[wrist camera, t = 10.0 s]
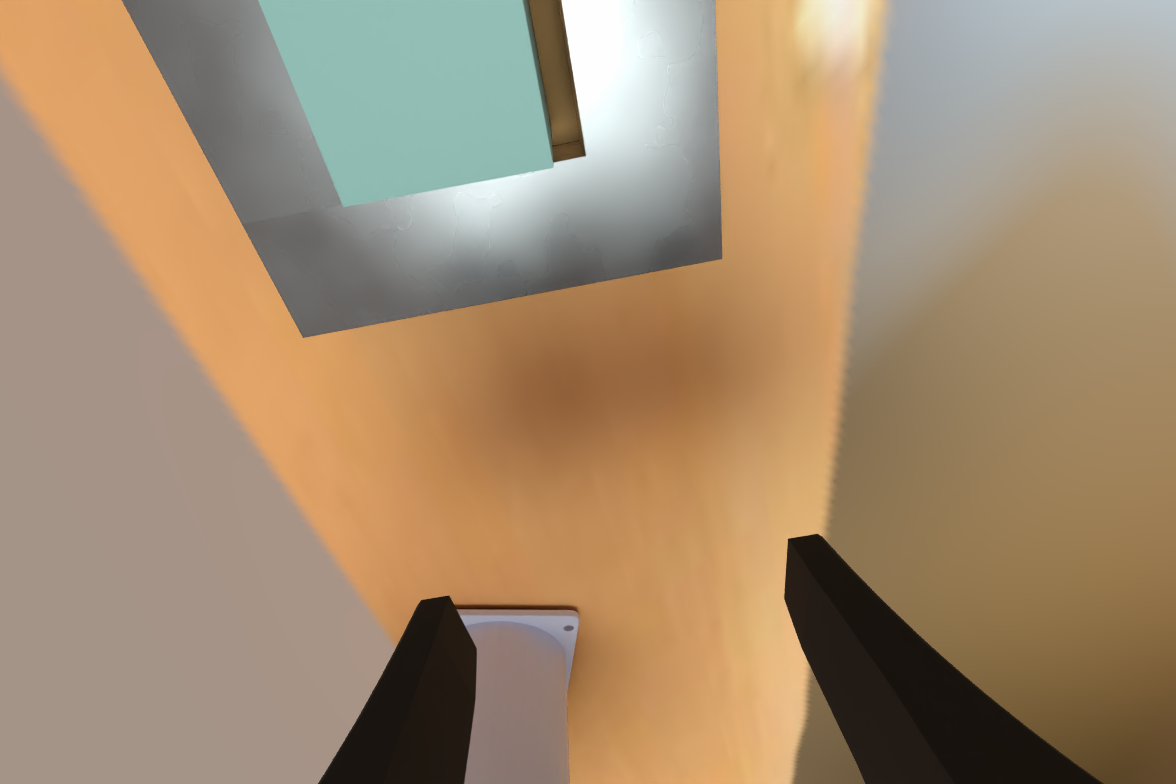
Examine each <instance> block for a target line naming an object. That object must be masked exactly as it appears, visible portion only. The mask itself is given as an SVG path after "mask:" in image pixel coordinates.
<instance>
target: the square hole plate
mask: <svg viewBox="0 0 1176 784" xmlns="http://www.w3.org/2000/svg"><path fill="white" fill-rule="evenodd" d="M122 1H123V3H124V5H125V7H126V9H127V11H128V13H129V14H130V16H131V18H132V20H133V22H134V24H135V26H136V28H137V29H138V31H139V33H140V35H141V37H142V39H143V41H144V42H145V44H146V46H147V48H148V50H149V52H150V54H151V55H152V57H153V59H154V61H155V63H156V65H157V67H158V68H159V70H160V72H161V74H162V76H163V78H164V80H165V82H166V83H167V85H168V87H169V89H170V91H171V93H172V95H173V96H174V98H175V100H176V102H177V104H178V106H179V108H180V109H181V111H182V113H183V115H184V117H185V119H186V121H187V122H188V124H189V126H190V128H191V130H192V132H193V134H194V135H195V137H196V139H197V141H198V143H199V145H200V147H201V149H202V150H203V152H204V154H205V156H206V158H207V160H208V162H209V163H210V165H211V167H212V169H213V171H214V173H215V175H216V176H217V178H218V180H219V182H220V184H221V186H222V188H223V189H224V191H225V193H226V195H227V197H228V199H229V201H230V203H231V204H232V206H233V208H234V210H235V212H236V214H237V216H238V217H239V219H240V221H241V223H242V225H243V227H244V229H245V230H246V232H247V234H248V236H249V238H250V240H251V242H252V243H253V245H254V247H255V249H256V251H257V253H258V255H259V257H260V258H261V260H262V262H263V264H264V266H265V268H266V270H267V271H268V273H269V275H270V277H271V279H272V281H273V283H274V284H275V286H276V288H277V290H278V292H279V294H280V296H281V297H282V299H283V301H284V303H285V305H286V307H287V309H288V311H289V312H290V314H291V316H292V318H293V320H294V322H295V324H296V325H297V327H298V329H299V331H300V333H301V335H302V337H303V338H304V337H310V336H315V335H320V334H326V333H331V332H336V331H342V330H347V329H352V328H357V327H363V326H368V325H373V324H379V323H384V322H389V321H395V320H400V319H405V318H411V317H416V316H421V315H426V314H432V313H437V312H442V311H448V310H453V309H458V308H464V307H469V306H474V305H480V304H485V303H490V302H496V301H501V300H506V299H511V298H517V297H522V296H527V295H533V294H538V293H543V292H549V291H554V290H559V289H565V288H570V287H575V286H581V285H586V284H591V283H596V282H602V281H607V280H612V279H618V278H623V277H628V276H634V275H639V274H644V273H650V272H655V271H660V270H665V269H671V268H676V267H681V266H687V265H692V264H697V263H703V262H708V261H713V260H719V259H722V232H721V196H720V160H719V124H718V88H717V52H716V16H715V0H558V5H559V11H560V17H561V24H562V30H563V36H564V42H565V48H566V54H567V60H568V67H569V73H570V79H571V85H572V91H573V97H574V103H575V110H576V116H577V122H578V128H579V134H580V140H581V141H577V142H572V143H567V144H562V145H557V146H552V148H553V164H554V168H551V169H545V170H540V171H535V172H529V173H524V174H519V175H513V176H508V177H503V178H497V179H492V180H487V181H481V182H476V183H471V184H465V185H460V186H455V187H449V188H444V189H439V190H433V191H428V192H422V193H417V194H412V195H406V196H401V197H396V198H390V199H385V200H380V201H374V202H369V203H364V204H358V205H353V206H348V207H343V205H342V202H341V200H340V198H339V195H338V193H337V190H336V188H335V185H334V183H333V181H332V178H331V176H330V173H329V171H328V169H327V166H326V164H325V161H324V159H323V156H322V154H321V152H320V149H319V147H318V144H317V142H316V139H315V137H314V135H313V132H312V130H311V127H310V125H309V122H308V120H307V118H306V115H305V113H304V110H303V108H302V106H301V103H300V101H299V98H298V96H297V93H296V91H295V89H294V86H293V84H292V81H291V79H290V76H289V74H288V72H287V69H286V67H285V64H284V62H283V59H282V57H281V55H280V52H279V50H278V47H277V45H276V43H275V40H274V38H273V35H272V33H271V30H270V28H269V26H268V23H267V21H266V18H265V16H264V13H263V11H262V9H261V6H260V4H259V1H258V0H122Z"/></svg>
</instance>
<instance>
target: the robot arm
mask: <svg viewBox="0 0 1176 784" xmlns="http://www.w3.org/2000/svg"><path fill="white" fill-rule="evenodd" d="M784 599H785V602H786V605H787V608H788V611H789V614H790V616H791V619H792V622H793V625H794V628H795V631H796V633H797V636H798V639H799V642H800V644H801V647H802V649H803V652H804V654H805V656H806V658H807V660H808V662H809V664H810V667H811V669H812V671H813V673H814V675H815V677H816V679H817V681H818V684H819V685H820V688H821V689H822V692H823V694H824V696H825V698H826V700H827V702H828V704H829V706H830V708H831V711H832V713H833V715H834V717H835V719H836V721H837V723H838V725H839V728H840V730H841V732H842V734H843V736H844V738H845V740H846V742H847V744H848V746H849V748H850V750H851V752H852V755H853V757H854V759H855V761H856V763H857V765H858V768H859V770H860V772H861V774H862V777H863V779H864V781H865V783H866V784H1103V783H1102V782H1100V781H1099V780H1098V779H1096V778H1095V777H1093V776H1092V775H1090V774H1089V773H1088V772H1086V771H1085V770H1084V769H1082V768H1081V767H1079V766H1078V765H1077V764H1075V763H1074V762H1072V761H1071V760H1070V759H1068V758H1067V757H1066V756H1064V755H1063V754H1062V753H1060V752H1059V751H1058V750H1056V749H1055V748H1054V747H1052V746H1051V745H1050V744H1049V743H1047V742H1046V741H1045V740H1043V739H1042V738H1040V737H1039V736H1038V735H1037V734H1035V733H1034V732H1033V731H1032V730H1030V729H1029V728H1028V727H1026V726H1025V725H1023V723H1021V722H1020V721H1019V720H1017V719H1016V718H1015V717H1014V716H1012V715H1011V714H1010V713H1009V712H1007V711H1006V710H1005V709H1004V708H1002V707H1001V706H1000V705H999V704H997V703H996V702H995V701H994V700H993V699H991V698H990V697H989V696H988V695H986V694H985V693H984V692H983V691H982V690H981V689H979V688H978V687H977V686H975V684H973V683H972V682H971V681H970V680H969V679H968V678H966V677H965V676H964V675H963V674H962V673H961V672H959V671H958V670H957V669H956V668H955V667H953V665H952V664H950V663H949V662H948V661H947V660H946V659H945V658H944V657H942V656H941V655H940V654H939V653H938V652H937V651H936V650H935V649H933V648H932V647H931V646H930V645H929V644H928V643H927V642H926V641H925V640H924V639H923V638H921V637H920V636H919V635H918V634H917V633H916V632H915V631H914V630H913V629H912V628H911V627H910V626H909V625H908V624H907V623H906V622H904V620H902V619H901V618H900V617H899V616H898V615H897V614H896V613H895V612H894V611H893V610H892V609H891V608H890V607H889V606H888V605H887V604H886V603H885V602H884V601H883V600H882V599H881V598H880V597H879V596H878V595H877V594H876V593H875V592H874V591H872V589H871V588H870V587H869V586H868V585H867V584H866V583H865V582H864V581H863V580H862V579H861V578H860V577H859V576H858V575H857V574H856V573H855V572H854V571H853V570H852V569H851V567H849V565H848V564H847V563H846V562H845V561H844V560H843V559H842V558H841V557H840V556H839V555H838V554H837V553H836V551H835V550H834V549H833V548H832V547H831V546H830V545H829V544H828V543H827V541H826V540H825V539H824V538H823V537H822V536H820V535H819V534H814V535H808V536H802V537H796V538H790V539H788V548H787V564H786V579H785V595H784ZM578 627H579V614H578V613H577V612H576V611H574V610H484V609H456V608H455V606H454V604H453V602H452V600H451V598H450V596H444V597H438V598H432V599H426V600H421V601H420V603H419V604H418V606H417V608H416V610H415V612H414V614H413V616H412V618H411V620H410V622H409V624H408V626H407V628H406V630H405V631H404V633H403V635H402V637H401V639H400V641H399V643H398V645H397V647H396V649H395V651H394V653H393V655H392V657H391V659H390V661H389V662H388V664H387V666H386V668H385V670H384V672H383V674H382V676H381V678H380V679H379V681H378V683H377V685H376V687H375V688H374V690H373V692H372V694H371V696H370V697H369V699H368V701H367V703H366V705H365V707H364V708H363V710H362V712H361V714H360V715H359V717H358V719H357V721H356V723H355V724H354V726H353V727H352V729H351V731H350V732H349V734H348V736H347V737H346V739H345V741H344V742H343V744H342V746H341V747H340V749H339V751H338V752H337V754H336V756H335V757H334V759H333V761H332V762H331V764H330V766H329V767H328V769H327V770H326V772H325V774H324V775H323V777H322V778H321V780H320V781H319V783H318V784H570V776H569V746H568V715H567V692H568V686H569V680H570V674H571V668H572V662H573V656H574V650H575V644H576V638H577V632H578Z"/></svg>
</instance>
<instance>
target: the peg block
mask: <svg viewBox="0 0 1176 784" xmlns="http://www.w3.org/2000/svg"><path fill="white" fill-rule="evenodd" d="M258 1H259V4H260V6H261V9H262V11H263V13H264V16H265V18H266V21H267V23H268V26H269V28H270V30H271V33H272V35H273V38H274V40H275V43H276V45H277V47H278V50H279V52H280V55H281V57H282V59H283V62H284V64H285V67H286V69H287V72H288V74H289V76H290V79H291V81H292V84H293V86H294V89H295V91H296V93H297V96H298V98H299V101H300V103H301V106H302V108H303V110H304V113H305V115H306V118H307V120H308V122H309V125H310V127H311V130H312V132H313V135H314V137H315V139H316V142H317V144H318V147H319V149H320V152H321V154H322V156H323V159H324V161H325V164H326V166H327V169H328V171H329V173H330V176H331V178H332V181H333V183H334V185H335V188H336V190H337V193H338V195H339V198H340V200H341V202H342V205H343V207H348V206H353V205H358V204H364V203H369V202H374V201H380V200H385V199H390V198H396V197H401V196H406V195H412V194H417V193H422V192H428V191H433V190H439V189H444V188H449V187H455V186H460V185H465V184H471V183H476V182H481V181H487V180H492V179H497V178H503V177H508V176H513V175H519V174H524V173H529V172H535V171H540V170H545V169H551V168H554V164H553V148H552V133H551V123H550V118H549V112H548V107H547V101H546V96H545V90H544V84H543V79H542V73H541V68H540V62H539V57H538V51H537V46H536V40H535V35H534V29H533V24H532V18H531V13H530V7H529V1H528V0H258Z"/></svg>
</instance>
